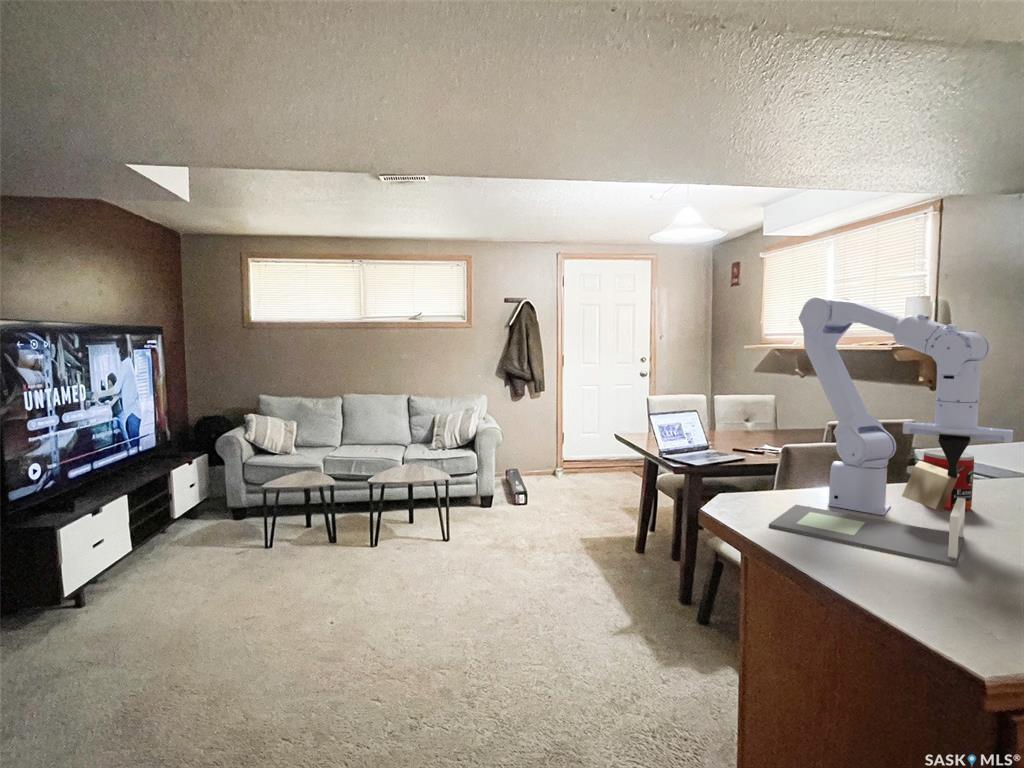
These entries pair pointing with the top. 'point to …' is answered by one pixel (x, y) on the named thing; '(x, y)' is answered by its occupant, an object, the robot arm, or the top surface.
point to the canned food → (964, 480)
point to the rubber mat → (869, 533)
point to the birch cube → (929, 486)
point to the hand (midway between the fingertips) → (952, 478)
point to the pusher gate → (956, 526)
